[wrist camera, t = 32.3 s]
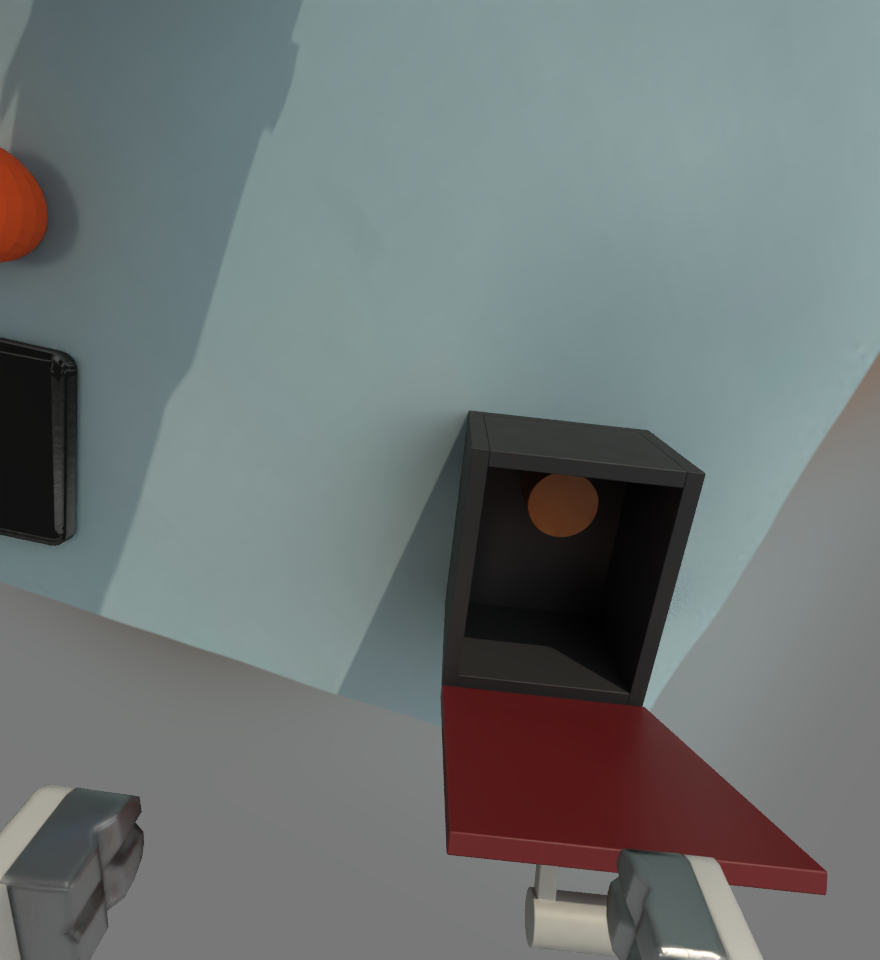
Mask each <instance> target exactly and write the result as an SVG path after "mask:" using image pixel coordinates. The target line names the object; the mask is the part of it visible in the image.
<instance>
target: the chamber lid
mask: <svg viewBox="0 0 880 960" xmlns="http://www.w3.org/2000/svg"><path fill="white" fill-rule="evenodd" d="M441 718H442V740H443V741H442V743H443V769H444V796H445V822H446V848H447V854H448V855H456V856H465V857H476V858H484V859H493V860H502V861H512V862H521V863H531V864H536V874H535V885H534V887H529V888H528V890H527V895H526V902H525V929H526V937H527V942H528V945H529V947H531V948H539V949H549V950H558V951H567V952H577V953H586V954H595V955H605V956H615V957H617V956H616V955H615V953H614V952H613V951H612V947H611V942H610V938H609V933H608V926H607V918H606V909H607V895H600V894H591V893H582V892H572V891H563V890H557V879H558V868H559V867H567V868H577V869H586V870H595V871H605V872H614V873H618V870H617V866H616V861H617V858H618V855H619V852H620V851H621V850H622V849H623V848H628V849H639V850H650V851H660V852H671V853H680V854H681V855H693V856H702V857H711V858H714V859H715V860H716V861H717V862H718V863H719V864H720V867H721V869H722V871H723V873H724V875H725V877H726V880H727V882H728V884H729V885H735V886H744V887H754V888H763V889H772V890H782V891H791V892H801V893H810V894H820V895H826V889H827V871H826V870H824V869H823V868H822V867H821V866H820V865H819V864H818V863H817V862H816V861H814V860H813V859H812V858H811V857H810V856H809V855H808V854H807V853H805V851H803V850H802V849H801V848H800V847H799V846H798V845H797V844H795V842H793V841H792V840H791V839H790V838H789V837H788V836H787V835H786V834H785V833H783V832H782V831H781V830H780V829H779V828H778V827H777V826H775V824H773V823H772V822H771V821H770V820H769V819H768V818H767V817H766V816H764V815H763V814H762V813H761V812H760V811H759V810H758V809H757V808H756V807H755V806H754V805H752V804H751V803H750V802H749V801H748V800H747V799H746V798H744V797H743V796H742V795H741V794H740V793H739V792H738V791H737V790H736V789H735V788H734V787H732V786H731V785H730V784H729V783H728V782H727V781H726V780H725V779H724V778H722V777H721V776H720V775H719V774H718V773H717V772H716V771H715V770H714V769H712V768H711V767H710V766H709V765H708V764H707V763H706V762H705V761H703V760H702V759H701V758H700V757H699V756H698V755H697V754H696V753H695V752H693V751H692V750H691V749H690V748H689V747H688V746H687V745H686V744H685V743H684V742H683V741H681V740H680V739H679V738H678V737H677V736H676V735H675V734H674V733H672V732H671V731H670V730H669V729H668V728H667V727H666V726H665V725H664V724H663V723H661V722H660V721H659V720H658V719H657V718H656V717H655V716H654V715H653V714H652V713H650V712H649V711H648V710H647V709H646V708H645V707H638V706H629V705H620V704H611V703H601V702H592V701H583V700H574V699H564V698H555V697H546V696H537V695H528V694H518V693H509V692H500V691H491V690H481V689H472V688H463V687H454V686H445V685H443V686H442V689H441Z"/></svg>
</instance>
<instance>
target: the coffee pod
mask: <svg viewBox="0 0 880 960" xmlns="http://www.w3.org/2000/svg"><path fill="white" fill-rule="evenodd" d="M521 490H522V494H523V497H524V500H525V503H526V507H527V510H528V513H529V516H530V519H531V521H532V522H533V524H534V525H535V526H536V527H537V528H538V529H539V530H540V531H542V532H544V533H546V534H548V535H551V536H555V537H567V536H572V535H575V534H577V533H579V532H581V531H583V530H584V529H585V528H587V527H588V526H589V525H590V523H591V522H592V521H593V519H594V518H595V516H596V513H597V510H598V495H597V492H596V489H595V487H594V486H593V484H592V483H591V481H590V480H589V478H587V477H577V476H568V475H559V474H550V473H541V472H532V471H524V473H523V475H522V479H521Z"/></svg>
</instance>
